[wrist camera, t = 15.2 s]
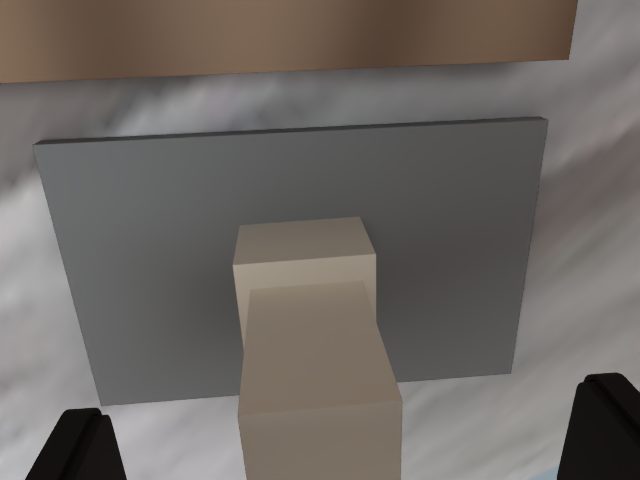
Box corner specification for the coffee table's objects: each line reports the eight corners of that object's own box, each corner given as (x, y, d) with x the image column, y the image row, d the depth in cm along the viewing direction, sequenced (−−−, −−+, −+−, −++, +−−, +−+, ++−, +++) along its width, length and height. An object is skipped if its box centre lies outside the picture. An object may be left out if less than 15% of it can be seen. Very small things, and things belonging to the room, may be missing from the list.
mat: (539, 116, 17) (548, 119, 16) (504, 364, 21) (510, 373, 20) (40, 141, 16) (31, 145, 15) (106, 395, 20) (101, 406, 19)
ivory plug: (359, 216, 17) (424, 365, 9) (361, 336, 19) (416, 537, 11) (239, 225, 17) (210, 384, 9) (254, 345, 18) (239, 556, 11)
